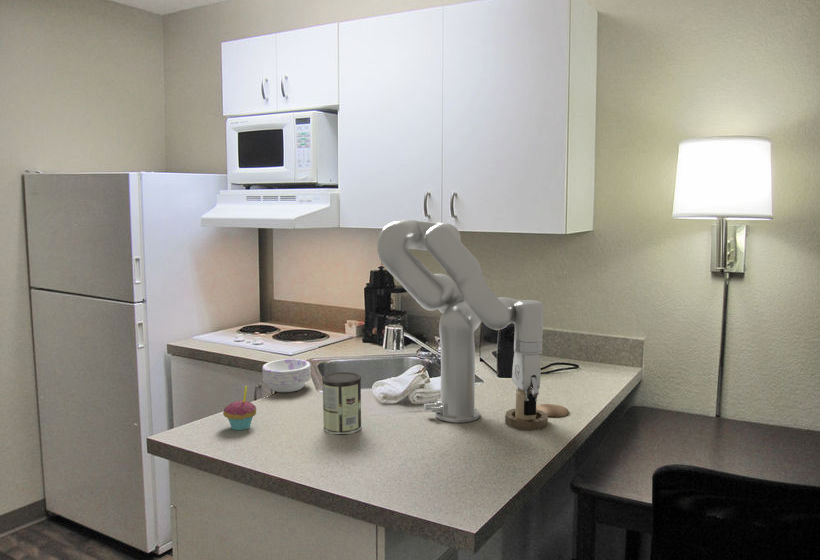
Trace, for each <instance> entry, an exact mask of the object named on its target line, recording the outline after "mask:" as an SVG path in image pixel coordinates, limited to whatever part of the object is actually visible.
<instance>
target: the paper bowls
mask: <svg viewBox="0 0 820 560" xmlns="http://www.w3.org/2000/svg"><path fill="white" fill-rule="evenodd" d="M311 366H312V365H311V363H310V362H309V361H307V360H304V359H297V358H286V359H284V358H283V359H277V360H273V361H269V362H266V363H264V364H263V365H262V367H261V368H262V369H261V371H262V372H261V373H262V382H263V383H264V384H265V385H268V386H269V388H270V390H271V391H273V392H276V393H293V392H296V391H300V390H302V389H303V388H304V386H305V384H306V383H307V382H309V381H310V380H311V379H312V370H311Z"/></svg>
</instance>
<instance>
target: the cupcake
mask: <svg viewBox="0 0 820 560" xmlns="http://www.w3.org/2000/svg"><path fill="white" fill-rule="evenodd" d="M243 392H244V393H243V397H242V398H243V399H241V400H237V401H233V402H231V403H229V404H227V405H226V406H225V407H224V408H223V411H222V415H223V416H224V417H225V418H227V420H228V422H229V424H230V427H231V429H232V430H233V431H245V430H248V429H249V428H250V427H251V424H252V420H253V417H255V416H256V414H257V407H256V405H255V404H254V403H253V402H250V401H246V400H247V393H248V383H246V385H245V386H244V390H243Z"/></svg>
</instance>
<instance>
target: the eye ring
mask: <svg viewBox="0 0 820 560" xmlns="http://www.w3.org/2000/svg"><path fill="white" fill-rule="evenodd" d="M515 411H516V408H511V409H509V410H506V412H505V415H504V418H505V419H504V423H505V425H507V426H508V427H510V428H512V429H515V430H519V431H528V432H532V431H542V430H543V429H545V428H547V427H548V424H549V423H548V421H549V420H548V419H549V417H548V414H546V413H545V412H543V411H540V410H536V419H534V420H524V419H519V418H515Z"/></svg>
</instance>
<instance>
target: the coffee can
mask: <svg viewBox="0 0 820 560" xmlns="http://www.w3.org/2000/svg"><path fill="white" fill-rule="evenodd" d="M321 377H322V378H321V380H322V381H321V382H322V409H323V410H322V415H323V416H322V417H323V422H322V423H323V431H324V432H325V431H326V432H325V433H327V432H328V433H327V434H330V433H332V434H331V435H335V434H347V435H351V434H355V432H356V433H357V432H359V431H361V430H362V386H361V384H362V383H361V382H362V381H361V380H362V376H361V374H358V373H356V372H352V371H349V372H348V371H347V372H346V371H341V372H339V371H338V372H331V373H327V374H325V375H323V376H321Z"/></svg>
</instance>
